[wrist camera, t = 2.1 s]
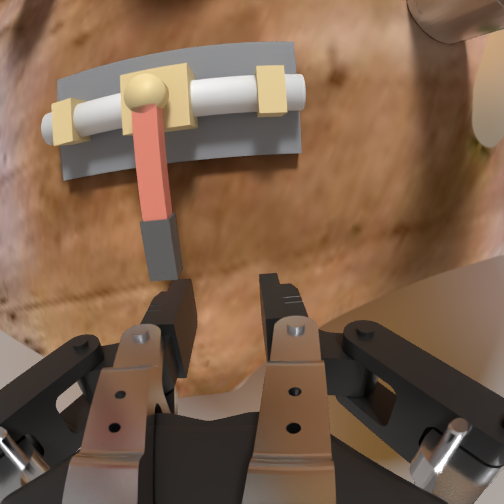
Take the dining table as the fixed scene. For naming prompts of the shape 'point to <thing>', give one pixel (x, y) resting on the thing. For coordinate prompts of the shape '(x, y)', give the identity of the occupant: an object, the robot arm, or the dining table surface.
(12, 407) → the robot arm
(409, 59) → the dining table surface
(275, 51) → the valve board
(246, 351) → the dining table surface
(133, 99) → the valve lever
